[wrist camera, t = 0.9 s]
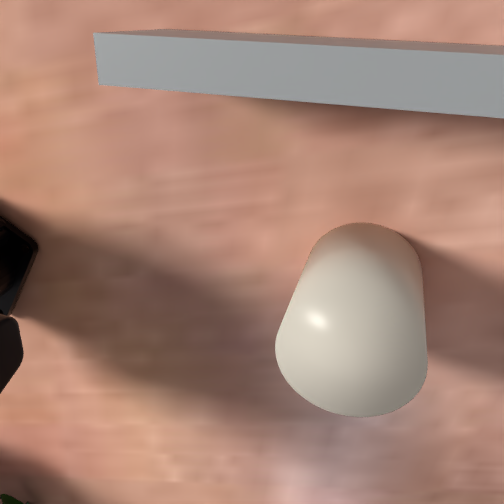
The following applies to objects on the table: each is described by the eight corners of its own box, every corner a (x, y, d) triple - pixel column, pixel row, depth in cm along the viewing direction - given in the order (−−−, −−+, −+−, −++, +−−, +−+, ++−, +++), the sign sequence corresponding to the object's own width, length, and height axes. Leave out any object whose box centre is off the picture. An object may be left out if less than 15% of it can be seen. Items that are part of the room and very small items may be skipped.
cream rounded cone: (370, 341, 22) (359, 438, 17) (285, 278, 22) (248, 358, 17) (448, 271, 20) (463, 361, 14) (353, 199, 19) (334, 265, 14)
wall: (705, 55, 14) (833, 72, 10) (683, 106, 15) (793, 142, 11) (165, 28, 19) (93, 32, 14) (167, 69, 19) (98, 84, 15)
